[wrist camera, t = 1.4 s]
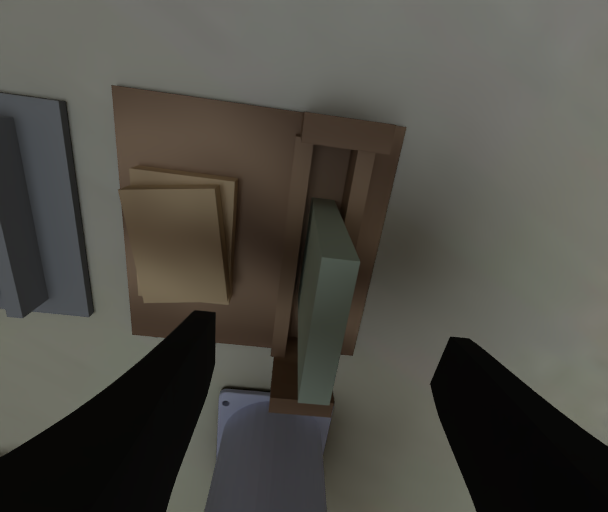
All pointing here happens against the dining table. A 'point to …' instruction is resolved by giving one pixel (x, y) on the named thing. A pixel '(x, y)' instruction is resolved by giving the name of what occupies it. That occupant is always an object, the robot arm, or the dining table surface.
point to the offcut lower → (176, 177)
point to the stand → (40, 212)
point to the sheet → (324, 300)
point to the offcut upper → (177, 242)
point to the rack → (263, 210)
